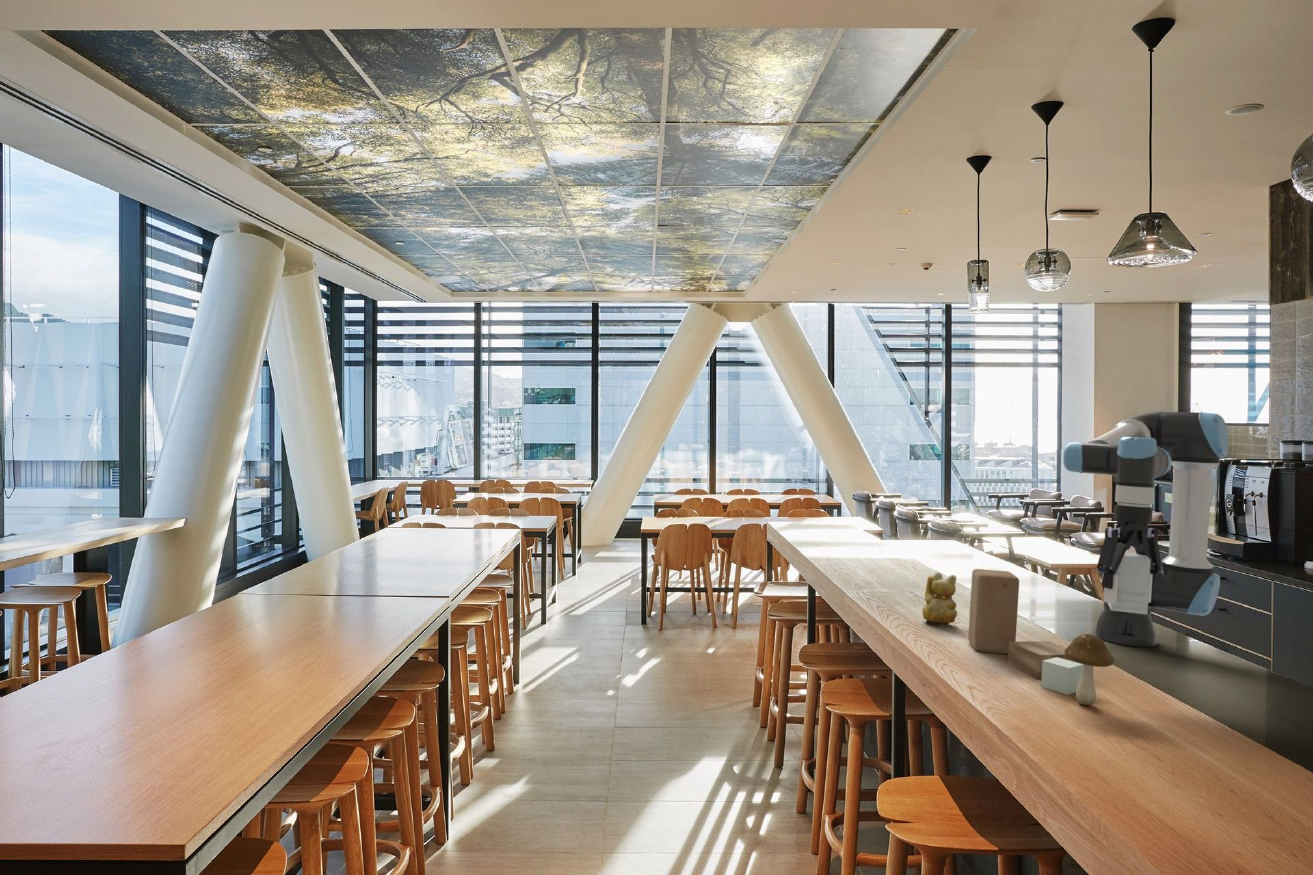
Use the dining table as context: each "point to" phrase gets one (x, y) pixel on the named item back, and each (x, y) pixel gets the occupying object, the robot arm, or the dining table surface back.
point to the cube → (1061, 675)
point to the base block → (1033, 656)
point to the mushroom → (1088, 663)
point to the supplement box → (1132, 584)
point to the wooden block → (993, 610)
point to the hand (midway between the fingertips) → (1127, 601)
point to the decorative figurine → (940, 600)
